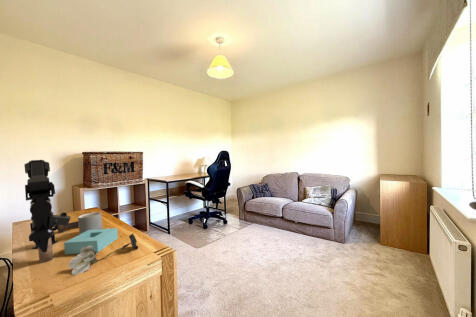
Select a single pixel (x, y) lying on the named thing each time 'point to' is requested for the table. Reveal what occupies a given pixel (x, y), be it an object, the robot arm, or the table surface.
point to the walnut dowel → (46, 253)
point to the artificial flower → (91, 257)
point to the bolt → (70, 225)
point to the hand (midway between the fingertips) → (45, 250)
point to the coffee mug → (89, 222)
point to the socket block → (91, 240)
